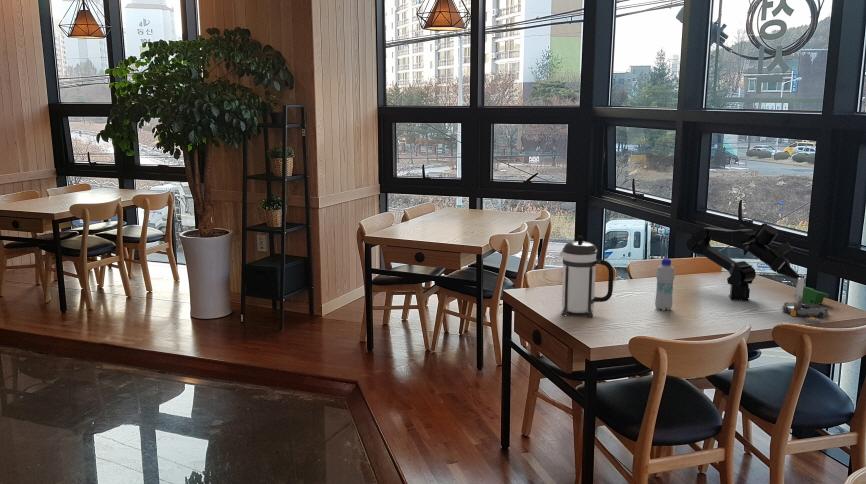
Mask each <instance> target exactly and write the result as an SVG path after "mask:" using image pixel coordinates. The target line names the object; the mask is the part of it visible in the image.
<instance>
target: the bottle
mask: <svg viewBox="0 0 866 484" xmlns="http://www.w3.org/2000/svg"><path fill="white" fill-rule="evenodd" d="M655 275H656V278H655V279H656V291H655V292H656V293H655V302H654V306H655V308H656V309H657V310H658V311H661V310H662V311H663V312H664V311H665V310H666V311H669V310H672V307H673V291H674V290H673V289H674V280H675V277H676V274H675V268H674V266H673V265H672V260H671V259H669V258H663V259H662V260H661V265H658V266H657V270H656V274H655Z"/></svg>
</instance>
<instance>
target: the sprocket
mask: <svg viewBox="0 0 866 484" xmlns="http://www.w3.org/2000/svg"><path fill="white" fill-rule="evenodd" d="M804 283H805V278H804V277H800V278H797V279H796V284H795V292H794V302H789V301H787V302H784V305H782V308H781V310H782V312H783V313H787V314H790V316H791V317H792V316H793V317H802V318H810V317H813V318H823V319H824V318H826V317H827V315H828V312H829V309H828V308H827V307H823V306H820V304H810V303H805V302H802V296H803V286H804V287H805V285H804Z"/></svg>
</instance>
